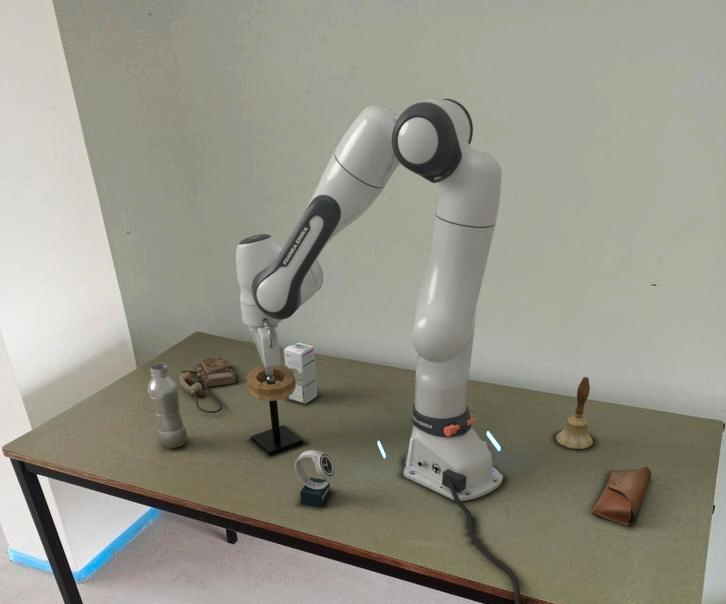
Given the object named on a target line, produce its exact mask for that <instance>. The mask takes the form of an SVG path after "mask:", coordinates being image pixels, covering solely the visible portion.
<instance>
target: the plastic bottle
mask: <svg viewBox="0 0 726 604" xmlns="http://www.w3.org/2000/svg"><path fill="white" fill-rule="evenodd" d="M149 370H150V376H151V377H152V378H151V379H150V381H149V383H148V385H147V392H148V393H147V394H148V395H149V398H150V401H151V403H152V406H153V410H154V413H155V418H156V425H157V427H156V428H157V429H156V433H157V439H158V442H159V444H160V445H162V446H163V447H164V448H166V449H175V448H179V447H182V446H184V445H185V444H186V442H187V440H188V433H187V429H186V426H185V425H184V422H183V418H182V415H181V411H180V404H179V387H178V384H177V382H176V381H175V380H174V379H173V378H172V377H171V376H170V375H169V374H170V371H169V369H168V364H166V363H160V362H159V363H154V364H152V365H150V367H149Z"/></svg>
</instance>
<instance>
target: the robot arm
mask: <svg viewBox="0 0 726 604" xmlns="http://www.w3.org/2000/svg"><path fill="white" fill-rule="evenodd" d="M473 135H474V123H473V120H472V117H471V114H470V113H469V111H468V109H467V108H466V107H465V106H464V105H463V104H461V103H460V102H458V101H457V100H454V99H451V98H438V97H437V98H436V97H433V98H428V99H425V100H422V101H419V102H415V103H414V104H412V105H410V106H408V107H407V108H405V109H404V111H402V112H401V114H398V113H397V112H395V111H394V110H392V109H391V108H388V107H386V106H384V105H377V104H374V105H373V104H372V105H369V106H367V107H366V108H364V109H363V110H361V112H360V113H359V115H358V116H357V117H356V118H355V119H354V120H353V122H352V123H351V124H350V125H349V127H348V129H347V130H346V132H344V134H343V136H342V137H341V139H340V141H339V142H338V144H337V145H336V147H335V149H334V150H333V153H332V155H331V157H330V159H329V161H328V162H327V165H326V166H325V169H324V171H323V173H322V175H321V177H320V180H319V181H318V184H317V186H316V188H315V190H314V192H313V194H312V196H311V198H310V200H309V202H308V204H307V206H306V208H305V211H304V213H303V214H302V216H301V218H300V220H299V221H298V222H297V224H296V226H295V228H294V229H293V231H292V232H291V234H290V236H289V237H288V239H287V241H286V242H285V244H282V243H280V242H279V241H278V240H277V239H276V238H275V237H274V236H273V235H272V234H267V233H262V234H261V233H260V234H255V235H252V236H248V237H246V238H244V239H242V240H241V241H240V242H238V244H237V245H236V249H235V270H236V278H237V283H238V285H239V289H240V294H239V295H240V296H239V305H240V311H241V313H240V314H241V321H242V323H243V324H244V325H246V326H248V329H249V330H250V335H251V337H252V339H253V342H254V345H255V347H256V351H257V353H258V355H259V357H260V359H261V366H264V369H265V374H266V375H267V376H268V375H273V368H277V367H280V365H282V359H281V351H280V343H279V342H280V341H279V337H278V333H277V330H276V329H278V326H279V323H280V322H282V321H283V320H286V319H288V318H290V317H292V316H293V315H294V314H295V313H296V311H297V310H298V309H300V307H301V306H302V305H304V304H305V303H307V302H308V301H309V300H310V299H311V298H312V297H313V296H315V295H316V294H317V293H318V292H319V291H320V289H321V288H322V286H323V283H324V272H323V269H322V267H321V264H320V263H319V262H318V258H319V256H320V255H321V253H322V252H323V250H324V249H325V248H326V246H327V245H328V243H329V242H330V241H331V240H333V238H334V237H336V235H338V234H339V233H340V232H342V231H343V230H344V229H345V228H347V227H348V226H350V225H351V224H352V223H354V222H355V221H357V220H358V219H360V218H361V217H362V216H363V215H364V214H365V213H366V212H367V211H368V210H369V209H370V208H371V206H372V205H373V204H374V203H375V202H376V200H378V198H379V197H380V195H381V194H382V192H383V190H384V189H385V187H386V185H388V182H389V181H390V179H391V177H392V176H393V175H394V173H395V171H396V170H397V169H398V167H400V166H401V165H402V166H403V167H404V168H405V169H407V170H408V171H410V172H412V173H414V174H415V175H418V176H420V177H422V178H423V179H425V180H426V181H428V182H430V183H432V184H437V185H438V196H437V203H436V207H435V213H434V219H433V225H432V230H431V235H430V241H429V247H428V253H427V258H426V261H425V267H424V270H423V275H422V278H421V284H420V288H419V292H418V297H417V300H416V306H415V311H414V315H413V320H412V326H411V341H412V342H411V343H412V345H413V348H414V349H415V351H416V353H417V361H416V367H415V377H414V380H415V381H414V402H413V404H412V409H411V422H412V425H413V426H412V430H411V435H410V439H409V444H408V451H407V454H406V457H405V463H404V464H405V466H404V469H403V474H402V476H403V477H405V478H406V479H408V480H411V481H413V482H415V483H416V484H419V485H421V486H423V487H425V488H427V489H430V490H432V491H433V492H435V493H438V494H440V495H442V496H444V497H446V498H449V499H450V500H452V501H454V502H455V503H456V504H457V506H458V507H459V508H460V509H461V510H462V511H463V512H464V514H465V515H466V518H467V522H468V525H467V526H468V528H467V530H468V533H469V535H470V538H471V540H472V541H473V543H474V544H475V545H476V547H477V548H478V549H479V550H480V551H481V553H483V555H485V556H486V557H487V559H489V561H491V562H492V563H494V565H496V567H497V566H498V568H500V569H502V571H504V572H505V573H506V574H507V575H508V576H509V578H510V579H511V582H512V584H513V599H514V604H521V603H522V601H521V587H520V581H519V579H518V577H517V575H516V574H515V573H514V571H513V570H512V569H511V568H510V567H509V566H508V565H507V564H505V563H504V562H503V561H501V560H500V559H498V558H497V557H496V556H495V555H493V553H492V552H490V551H489V550H488V548H487V547H486V546H485V545H484V544H483V543H482V542H481V541H480V539H479V538H478V536H477V535H476V532H475V529H474V517H473V515H472V513H471V511H470V510H469V508H467V506H466V505H465V504H464V503H463V502H464V501H465V502H466V501H470V500H475V499H478V498H481V497H483V496H486V495H487V494H489V493H491V492H493V491H494V490H497V488H499V487H500V486H501V484H502V483H503V480H504V475H503V474H502V473H501V472H500V471H499V470H497V469H496V468H495V467H494V465H493V464H494V463H493V457H492V456H493V455H492V453H491V451H490V450H489V446H488V443H487V441H486V440H482V439H481V438H480V436H479V434H478V433H477V432H476V430H475V429H474V428H473V424H475V423H476V421H475V420H476V419H477V418H476V417H471V413H470V409H469V406H468V396H469V395H468V394H469V384H470V383H469V381H470V373H471V371H470V370H471V365H472V364H471V362H472V356H473V345H474V338H475V327H476V320H477V319H476V318H477V305H478V301H479V296H480V293H481V288H482V285H483V280H484V276H485V272H486V270H487V269H486V268H487V265H488V264H487V263H488V260H489V254H490V251H491V246H492V241H493V237H494V233H495V228H496V225H497V219H498V215H499V209H500V201H501V193H502V177H503V176H502V172H503V171H502V167H501V164H500V163H499V161H498V160H497V159H496V158H495V157H494V156H492V155H491V154H489V153H488V152H484V151H481V150H476V149H474V148H473V147H472V146H471V143H472V141H473ZM486 436H487V437H488V439H489V440H490V441H491V443H492V444H493V445H494V447H495V448H496V450H497V451H498V452H500V451H501V446H500V445H499V443H498V442H497V440H496V439H495V437H493V435H492V433H490V431H489V430H488V431H487V432H486ZM377 446H378V448H379V451H380V453H381V455H382V457H383V459H386V453H385V451H384V448H383V446H382V444H381V442H380V440H378V441H377Z"/></svg>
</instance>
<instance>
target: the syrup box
mask: <svg viewBox="0 0 726 604" xmlns="http://www.w3.org/2000/svg"><path fill="white" fill-rule="evenodd" d="M283 354H284V355H283V356H284V366H285V367H287V368H289V369H291V370H292V371H293V373H294V375H295V383H296V388H295V390H294V392H293V393H292V394H291V395H290V396H288V400H290V401H294V402H297V403H300V404H304V405H306V404H307V403H309V402H311V401H312V400H314V399H315V398H316V397H318V390H317V377H316V361H315V357H316V356H315V348H314V345H311V344H310V345H309V344H305V343H302V342H298V341H297V342H294V343H291V344H290V345H288V346H287V347H285V348H284V349H283Z"/></svg>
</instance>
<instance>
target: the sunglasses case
mask: <svg viewBox="0 0 726 604" xmlns="http://www.w3.org/2000/svg"><path fill="white" fill-rule="evenodd" d="M651 478H652V471H651V469H650V467H648V466H643V467H640V468H636V469H635V468H634V469H624V470H617V471H610V472H609V475H608V479H607V481H606V484H605V486H604V488H603V491H602V492H601V494H600V496H599V498H598V500H597V502H596V503H595V504H594V506H593V508H592V510H591V513H593V514H594V515H595V516H597V517H599V518H602V519H604V520H607V521H610V522H612V523H616V524H619V525H621V526H622V525H623V526H627V527H628V526H632V525H633V524H636V521H637V518H638V516H639V513H640V511H641V507H642V505H643V502H644V499H645V495H646V492H647V491H648V488H649V484H650V482H651Z"/></svg>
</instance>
